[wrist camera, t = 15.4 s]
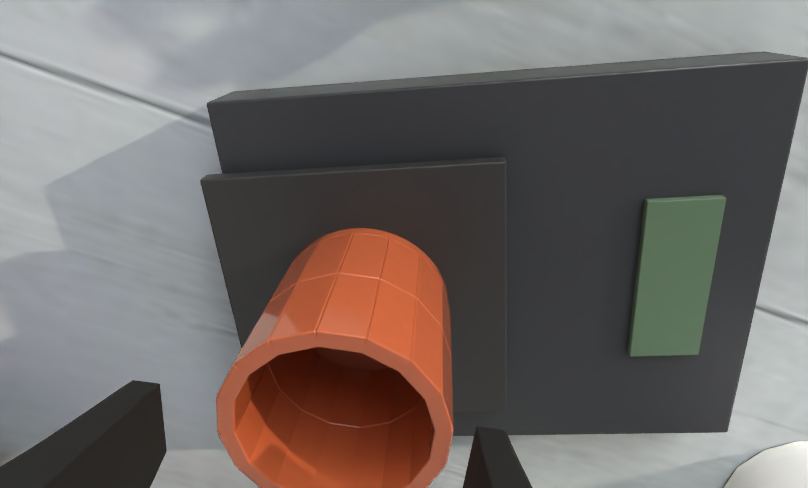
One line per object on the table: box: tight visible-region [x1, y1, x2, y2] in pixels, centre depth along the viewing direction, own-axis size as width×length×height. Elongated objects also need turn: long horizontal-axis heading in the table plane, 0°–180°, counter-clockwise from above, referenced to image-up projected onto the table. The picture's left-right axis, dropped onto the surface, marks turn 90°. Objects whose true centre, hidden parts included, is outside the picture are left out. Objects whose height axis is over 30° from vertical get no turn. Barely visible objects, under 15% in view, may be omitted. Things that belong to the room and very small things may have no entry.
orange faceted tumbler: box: [216, 228, 454, 488], centre depth 15 cm, size 6×6×6 cm
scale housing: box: [207, 52, 808, 436], centre depth 20 cm, size 18×14×3 cm
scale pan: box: [201, 157, 507, 412], centre depth 18 cm, size 10×10×1 cm
